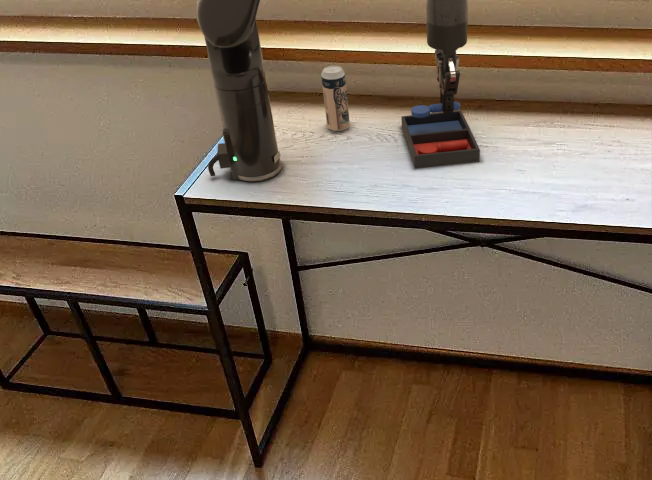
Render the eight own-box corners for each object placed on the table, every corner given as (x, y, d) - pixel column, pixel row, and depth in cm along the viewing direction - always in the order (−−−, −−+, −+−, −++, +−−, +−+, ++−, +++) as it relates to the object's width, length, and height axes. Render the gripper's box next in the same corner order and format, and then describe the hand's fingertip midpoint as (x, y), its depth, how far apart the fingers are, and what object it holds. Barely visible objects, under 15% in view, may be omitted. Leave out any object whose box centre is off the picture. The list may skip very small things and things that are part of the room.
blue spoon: (458, 105, 142) (458, 97, 141) (462, 113, 140) (462, 105, 139) (410, 110, 142) (409, 102, 141) (412, 118, 139) (412, 110, 138)
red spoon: (466, 143, 139) (466, 136, 138) (470, 152, 137) (470, 144, 135) (416, 149, 139) (416, 141, 138) (419, 158, 136) (419, 150, 135)
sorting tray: (414, 168, 134) (414, 156, 133) (401, 127, 147) (401, 116, 145) (479, 161, 135) (480, 149, 134) (461, 121, 148) (461, 110, 146)
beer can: (345, 133, 146) (339, 75, 138) (323, 131, 147) (316, 73, 139) (353, 123, 149) (348, 65, 141) (332, 121, 151) (326, 63, 142)
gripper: (475, 27, 124) (472, 122, 136) (459, 3, 134) (458, 94, 146) (433, 31, 124) (434, 127, 136) (420, 7, 133) (422, 97, 145)
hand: (446, 109), depth 141 cm, fingers closed on blue spoon, 1 cm apart
